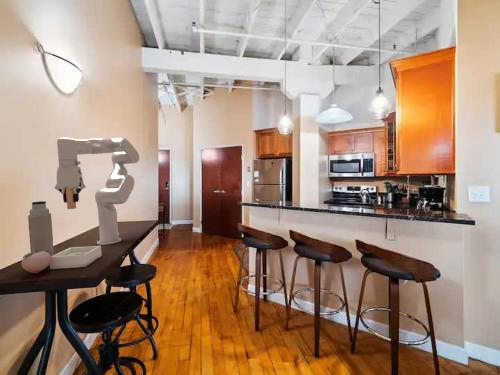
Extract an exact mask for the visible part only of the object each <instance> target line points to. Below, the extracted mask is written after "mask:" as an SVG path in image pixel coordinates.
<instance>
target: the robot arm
mask: <svg viewBox="0 0 500 375" xmlns="http://www.w3.org/2000/svg"><path fill="white" fill-rule="evenodd" d="M56 144H57V147H56V148H57V157H58V167H57V170H56V184H55V186H54V190H56V191H58V192H59V193H61V195H62V199H63V203H64V204H67V198H66V188H73V191H74V194H73V202H76V203H79V201H80V197H79V196H80V195H79V194H80V193H81V191H82V190H84V189H86V188H87V187H86V185H85V183H84V177H83V172H82V168H81V166H79V165H81V161H78V155H80V156H82V155H83V156H84V155H98V154H99V155H100V154H102V155H103V154H111V153H112V154H111V162H112V166H113V170H112V172H111V173H110V175H109V177H108V178H107V179H106V182H105V187H102V188H100V189H98V190H97V191H96V192H95V194H94V198H95V203H96V207H97V216H98V229H99V230H98V231H99V240H97V241H96V244H97V245H98V246H102V245H103V246H104V245H113V244H116V243H117V244H118V243H120V242H121V241H122V238H121V237H119V236H120V232H119V229H118V228H119V227H118V212H117V211H118V210H117V209H116V207H115V205H124V204H125V203H127V202H128V200H129V198H130V195H131V194H132V192H133V191H134V188H135V179H134V177H133V176H132V175H130V174H128V173H129V172H128V169H127V167H125V165H128V164H129V165H130V164H132V165H133V164H136V163H138V162H139V160H140V155H139V152H138V150H137V149H136V148H135V147H134V146H133V144H132V143H131V142H130V141H129V140H128V139H127V138H125V137H114V138H113V137H112V138H110V137H108V138H106V137H105V138H104V137H103V138H101V137H100V138H98V137H97V138H88V139H79V138H77V139H76V138H75V139H74V138H72V137H59V138H57V140H56Z"/></svg>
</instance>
